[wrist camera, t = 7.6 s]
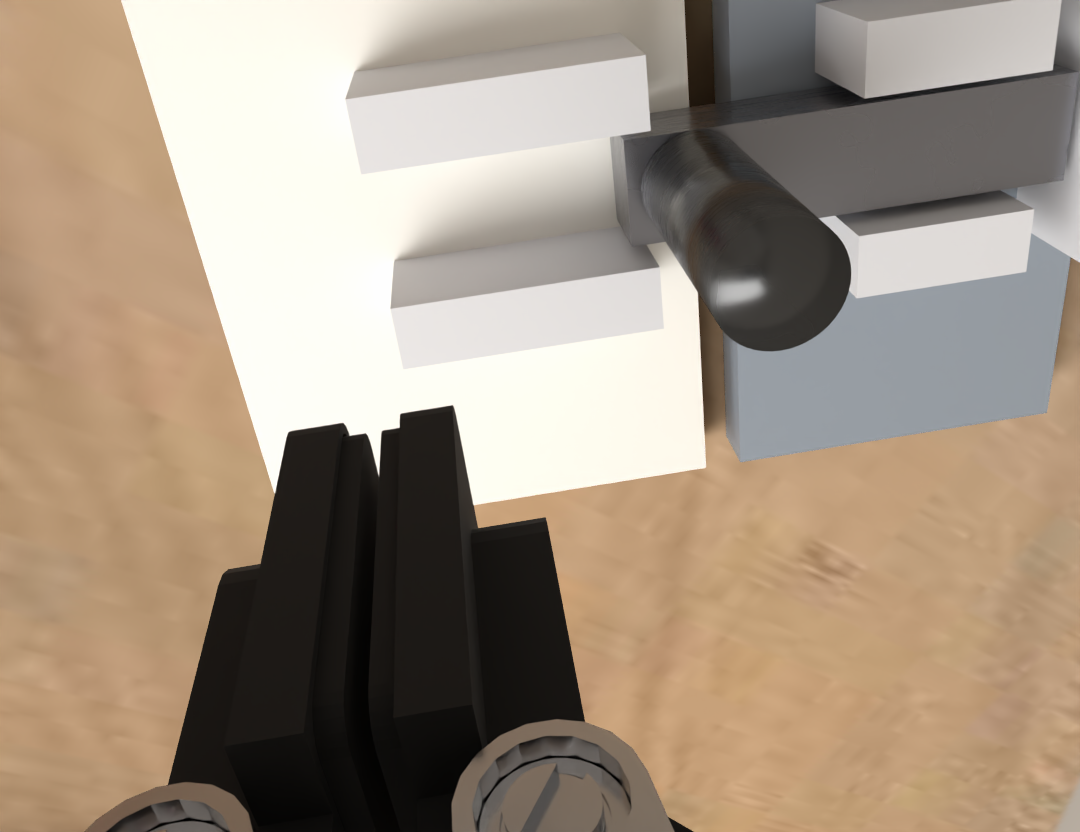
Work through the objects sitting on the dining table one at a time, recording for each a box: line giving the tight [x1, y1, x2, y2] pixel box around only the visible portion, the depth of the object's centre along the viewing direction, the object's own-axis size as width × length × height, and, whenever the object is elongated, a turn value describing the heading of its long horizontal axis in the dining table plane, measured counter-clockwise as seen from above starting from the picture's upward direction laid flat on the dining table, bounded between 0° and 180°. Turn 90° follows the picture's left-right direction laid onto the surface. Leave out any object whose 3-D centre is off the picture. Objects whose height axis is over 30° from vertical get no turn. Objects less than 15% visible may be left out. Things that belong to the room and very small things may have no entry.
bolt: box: [610, 64, 1079, 352], centre depth 20 cm, size 2×10×8 cm, turn 97°
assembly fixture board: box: [121, 0, 1080, 505], centre depth 23 cm, size 18×22×4 cm
